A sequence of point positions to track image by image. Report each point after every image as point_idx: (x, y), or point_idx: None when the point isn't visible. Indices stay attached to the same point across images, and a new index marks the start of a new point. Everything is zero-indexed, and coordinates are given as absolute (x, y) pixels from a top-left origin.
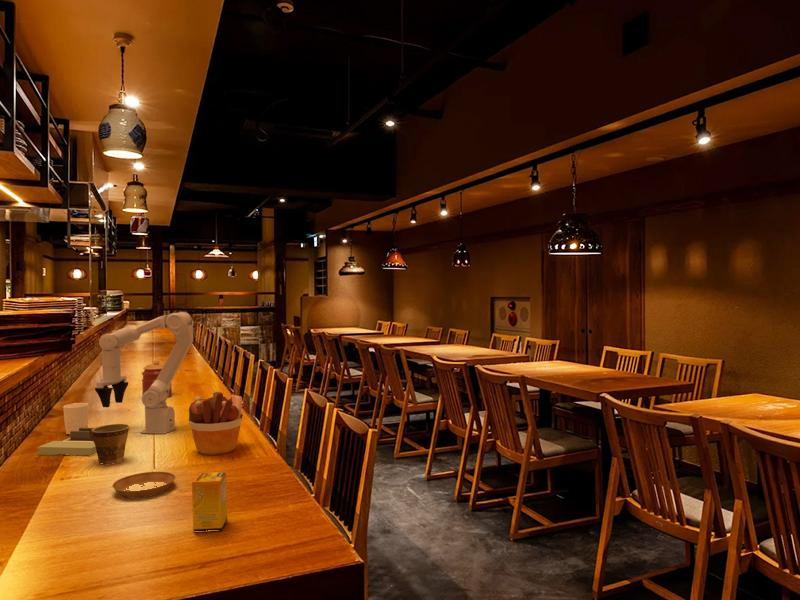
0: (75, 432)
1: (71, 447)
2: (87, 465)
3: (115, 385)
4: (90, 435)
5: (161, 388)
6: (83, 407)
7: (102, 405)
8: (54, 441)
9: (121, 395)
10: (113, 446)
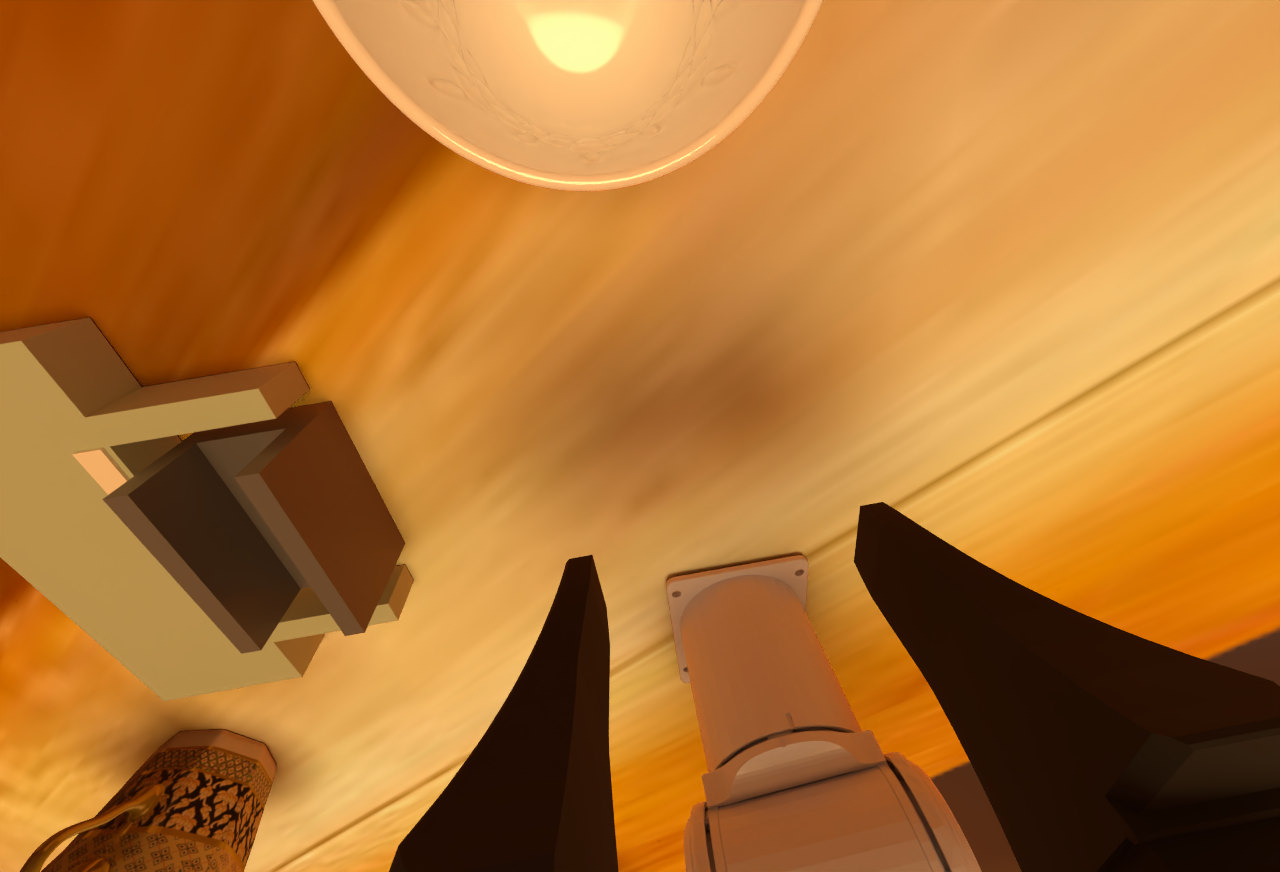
0: (147, 536)
1: (69, 612)
2: (103, 730)
3: (1081, 770)
4: (45, 843)
5: None
6: (547, 185)
7: (562, 577)
8: (17, 368)
9: (914, 644)
10: None
